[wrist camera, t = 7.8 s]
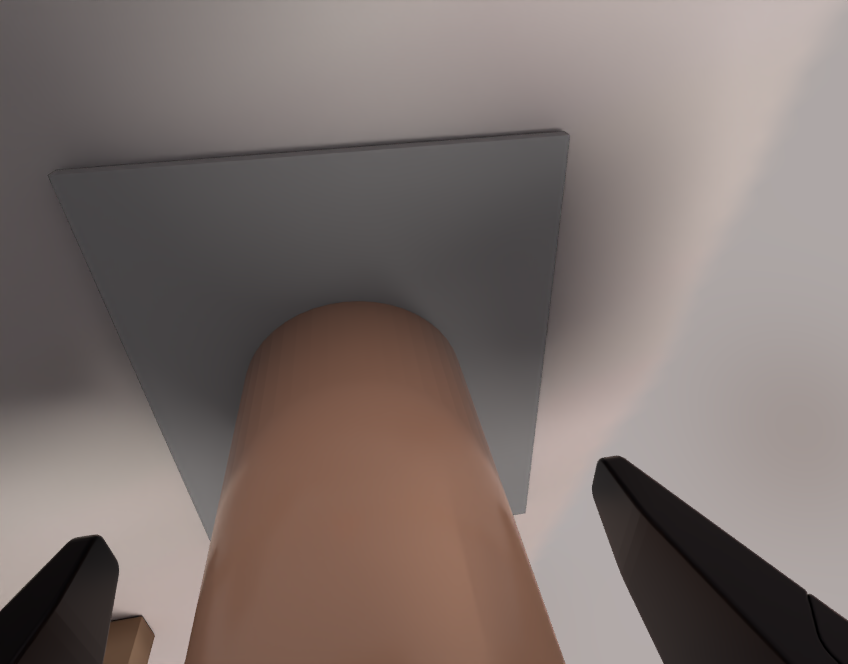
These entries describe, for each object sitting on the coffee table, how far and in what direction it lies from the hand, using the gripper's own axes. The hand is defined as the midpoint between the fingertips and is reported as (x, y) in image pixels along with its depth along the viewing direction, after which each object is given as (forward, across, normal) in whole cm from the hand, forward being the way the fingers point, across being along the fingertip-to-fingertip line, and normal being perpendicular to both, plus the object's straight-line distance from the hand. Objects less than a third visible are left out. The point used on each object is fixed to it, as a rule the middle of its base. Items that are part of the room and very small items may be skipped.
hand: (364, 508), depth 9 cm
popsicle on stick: (+3, 0, +1) cm, 3 cm away
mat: (+4, 0, 0) cm, 4 cm away
